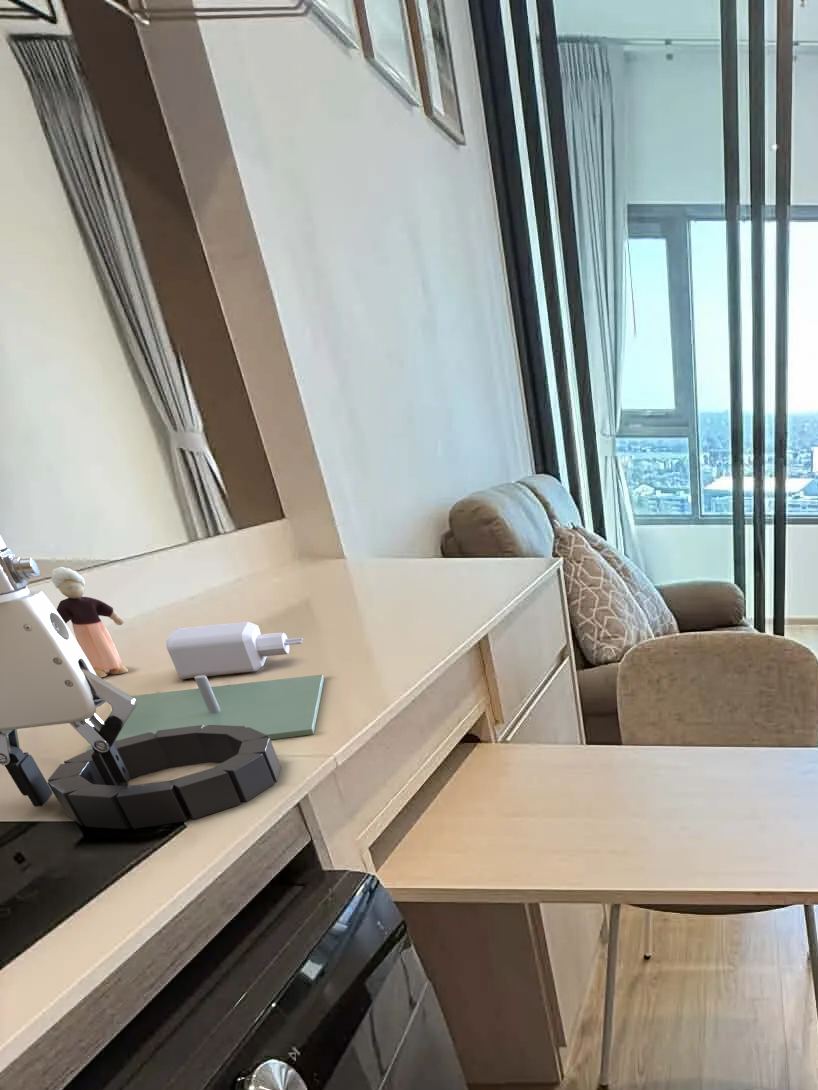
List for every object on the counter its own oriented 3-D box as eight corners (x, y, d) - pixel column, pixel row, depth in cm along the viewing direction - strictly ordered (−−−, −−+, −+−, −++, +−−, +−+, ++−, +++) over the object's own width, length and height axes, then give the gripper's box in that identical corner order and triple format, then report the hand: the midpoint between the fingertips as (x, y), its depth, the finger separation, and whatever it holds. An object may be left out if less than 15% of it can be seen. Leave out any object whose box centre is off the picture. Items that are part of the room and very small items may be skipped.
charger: (306, 668, 112) (181, 682, 108) (311, 651, 119) (193, 663, 115) (293, 630, 109) (163, 642, 105) (298, 614, 116) (177, 626, 112)
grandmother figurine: (90, 682, 109) (35, 573, 101) (75, 678, 110) (20, 570, 103) (150, 667, 114) (102, 562, 106) (134, 663, 116) (86, 560, 108)
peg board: (82, 764, 86) (58, 719, 83) (130, 701, 102) (111, 662, 100) (313, 734, 92) (298, 691, 89) (324, 679, 108) (311, 641, 105)
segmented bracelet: (42, 842, 72) (22, 809, 70) (95, 769, 85) (79, 739, 83) (270, 809, 76) (257, 777, 74) (286, 744, 89) (275, 715, 88)
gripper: (98, 562, 72) (192, 767, 83) (-146, 581, 68) (-12, 795, 79) (74, 578, 66) (178, 796, 78) (-193, 600, 62) (-41, 827, 73)
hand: (82, 793), depth 78 cm, fingers open, 5 cm apart
